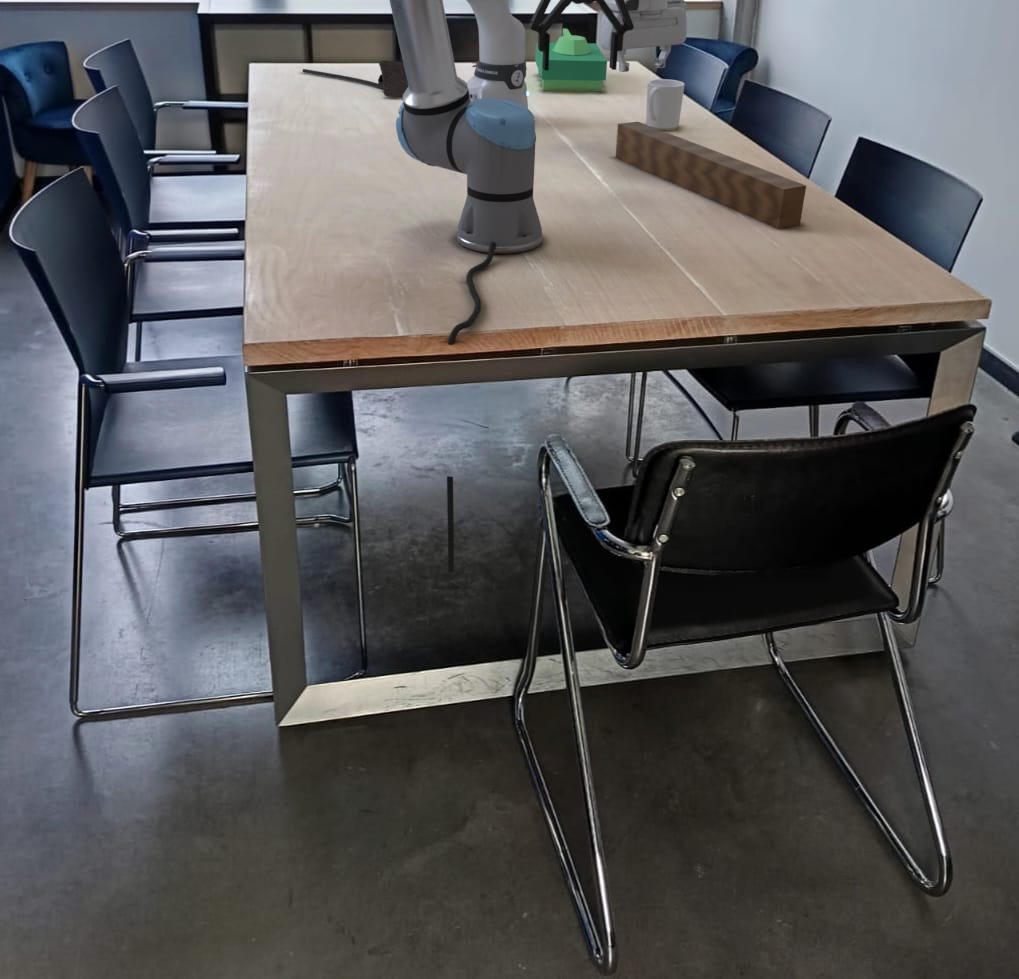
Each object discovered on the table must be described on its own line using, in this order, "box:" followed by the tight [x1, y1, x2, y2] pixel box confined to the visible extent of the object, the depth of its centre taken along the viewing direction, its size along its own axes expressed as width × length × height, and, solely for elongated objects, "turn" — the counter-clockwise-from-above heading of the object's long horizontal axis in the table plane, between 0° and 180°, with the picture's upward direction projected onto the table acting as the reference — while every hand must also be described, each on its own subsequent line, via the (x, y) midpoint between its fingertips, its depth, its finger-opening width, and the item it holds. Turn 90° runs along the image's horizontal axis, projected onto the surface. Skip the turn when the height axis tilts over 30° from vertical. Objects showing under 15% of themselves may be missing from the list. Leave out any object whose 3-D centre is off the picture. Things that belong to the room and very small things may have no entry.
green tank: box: [534, 28, 608, 92], centre depth 314 cm, size 18×12×35 cm
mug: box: [645, 78, 685, 131], centre depth 268 cm, size 11×9×10 cm
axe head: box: [377, 59, 408, 99], centre depth 299 cm, size 18×8×15 cm
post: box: [615, 121, 807, 229], centre depth 224 cm, size 55×5×8 cm, turn 29°
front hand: (579, 68), depth 216 cm, fingers open, 13 cm apart
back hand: (641, 69), depth 234 cm, fingers open, 8 cm apart
